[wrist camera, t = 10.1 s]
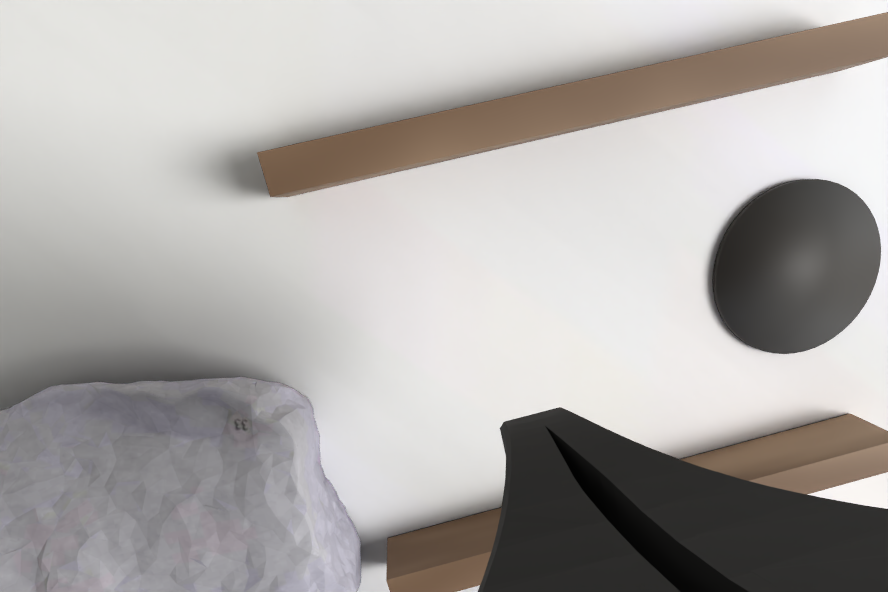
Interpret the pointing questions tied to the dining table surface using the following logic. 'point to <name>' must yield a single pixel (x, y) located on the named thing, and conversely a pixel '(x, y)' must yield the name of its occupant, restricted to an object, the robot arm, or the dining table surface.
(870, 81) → the dining table surface
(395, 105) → the dining table surface
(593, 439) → the robot arm
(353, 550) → the stone block
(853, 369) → the dining table surface
